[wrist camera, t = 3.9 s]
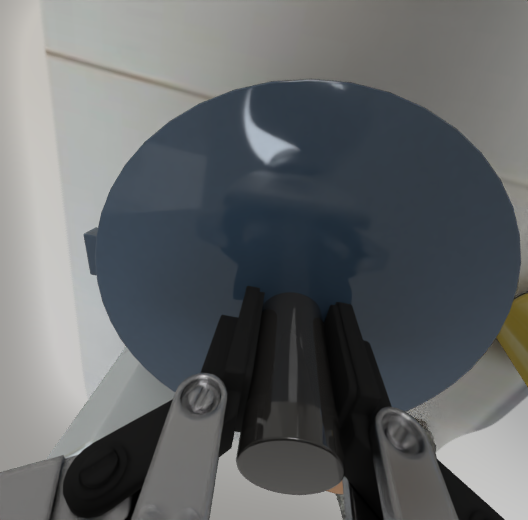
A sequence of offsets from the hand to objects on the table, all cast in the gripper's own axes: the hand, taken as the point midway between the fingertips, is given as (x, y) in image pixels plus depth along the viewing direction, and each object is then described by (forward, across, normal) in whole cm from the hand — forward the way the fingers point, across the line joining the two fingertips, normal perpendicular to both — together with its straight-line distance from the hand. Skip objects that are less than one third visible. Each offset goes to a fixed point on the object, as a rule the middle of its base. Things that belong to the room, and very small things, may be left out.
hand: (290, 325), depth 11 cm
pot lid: (+1, 0, 0) cm, 1 cm away
